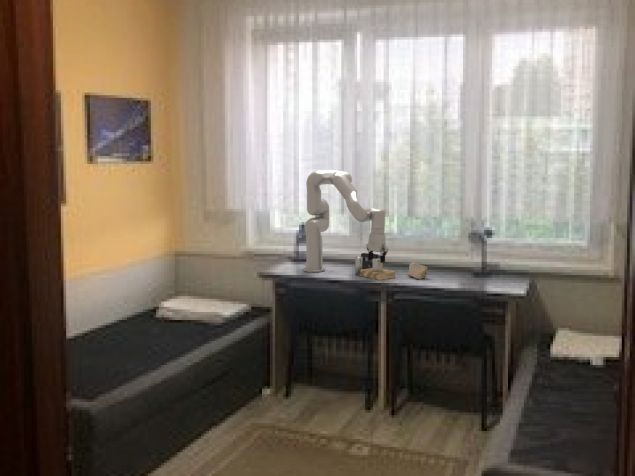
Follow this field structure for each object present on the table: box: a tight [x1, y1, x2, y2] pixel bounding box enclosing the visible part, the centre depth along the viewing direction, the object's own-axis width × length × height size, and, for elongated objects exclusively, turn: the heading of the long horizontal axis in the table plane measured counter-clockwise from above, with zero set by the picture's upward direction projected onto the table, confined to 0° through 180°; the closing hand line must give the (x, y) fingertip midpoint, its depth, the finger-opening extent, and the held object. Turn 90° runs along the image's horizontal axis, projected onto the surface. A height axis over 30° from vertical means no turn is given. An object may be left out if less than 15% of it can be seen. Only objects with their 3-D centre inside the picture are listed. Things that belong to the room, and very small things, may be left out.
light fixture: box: [360, 252, 381, 270], centre depth 408 cm, size 11×13×11 cm
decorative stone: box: [407, 261, 429, 280], centre depth 386 cm, size 8×14×8 cm, turn 35°
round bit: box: [354, 256, 363, 276], centre depth 396 cm, size 4×4×10 cm
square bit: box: [373, 259, 384, 272], centre depth 388 cm, size 4×4×10 cm
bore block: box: [359, 268, 396, 281], centre depth 388 cm, size 16×12×4 cm
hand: (376, 261), depth 388 cm, fingers open, 9 cm apart
